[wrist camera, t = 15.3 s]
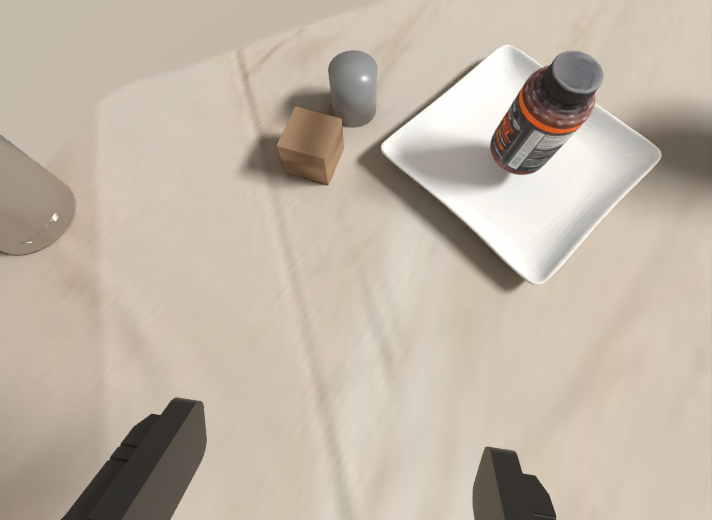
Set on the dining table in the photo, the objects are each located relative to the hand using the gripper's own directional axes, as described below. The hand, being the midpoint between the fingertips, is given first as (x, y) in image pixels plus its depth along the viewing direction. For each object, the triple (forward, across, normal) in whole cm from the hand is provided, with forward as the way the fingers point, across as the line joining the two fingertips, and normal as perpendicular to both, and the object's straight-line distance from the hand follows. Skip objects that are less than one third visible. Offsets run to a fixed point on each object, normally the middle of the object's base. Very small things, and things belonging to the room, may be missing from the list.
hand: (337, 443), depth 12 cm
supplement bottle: (+36, -12, -3) cm, 39 cm away
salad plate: (+39, -13, -1) cm, 41 cm away
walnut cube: (+37, +8, 0) cm, 38 cm away
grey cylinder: (+42, +5, -5) cm, 43 cm away
